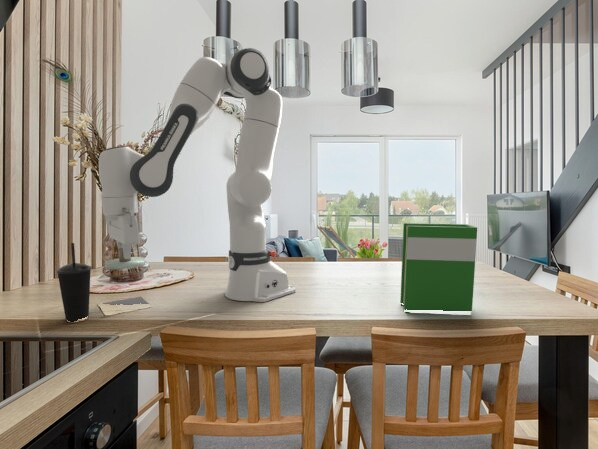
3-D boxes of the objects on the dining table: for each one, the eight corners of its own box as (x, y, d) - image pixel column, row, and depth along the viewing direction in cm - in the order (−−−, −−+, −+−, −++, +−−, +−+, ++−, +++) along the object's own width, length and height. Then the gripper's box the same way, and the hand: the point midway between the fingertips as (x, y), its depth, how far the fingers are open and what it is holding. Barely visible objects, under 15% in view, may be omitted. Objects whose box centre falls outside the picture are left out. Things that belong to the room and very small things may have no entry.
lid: (139, 259, 111) (138, 243, 111) (149, 265, 104) (148, 248, 103) (102, 265, 105) (100, 248, 105) (109, 271, 98) (108, 253, 97)
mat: (141, 298, 114) (141, 296, 114) (153, 309, 105) (153, 307, 104) (96, 305, 107) (96, 304, 107) (105, 318, 97) (105, 316, 97)
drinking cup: (79, 328, 91) (73, 246, 88) (52, 325, 92) (46, 245, 90) (101, 317, 98) (97, 241, 96) (76, 314, 100) (71, 240, 97)
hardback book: (404, 313, 103) (408, 226, 100) (400, 304, 110) (403, 223, 108) (471, 316, 101) (477, 227, 98) (462, 307, 108) (468, 224, 106)
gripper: (143, 208, 96) (147, 261, 98) (124, 204, 112) (128, 250, 114) (116, 210, 92) (121, 265, 94) (100, 206, 108) (105, 253, 110)
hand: (125, 257), depth 104 cm, fingers closed on lid, 3 cm apart
